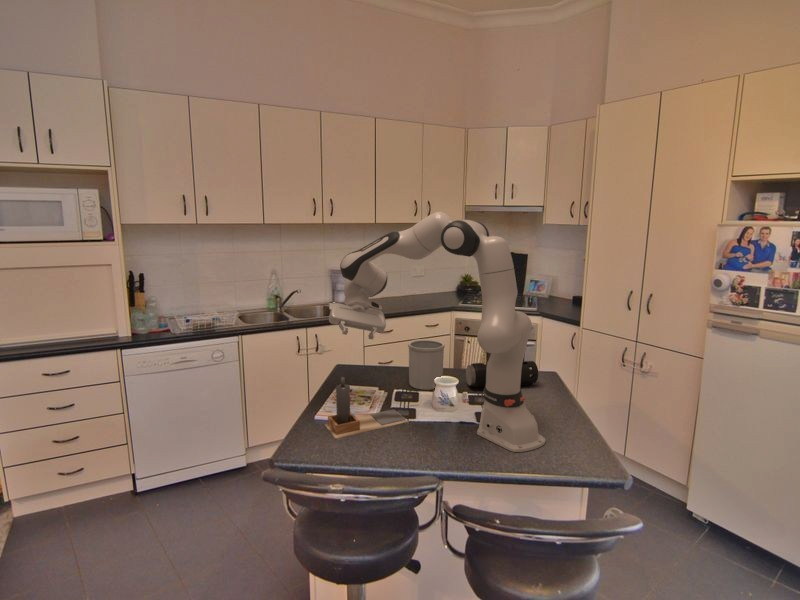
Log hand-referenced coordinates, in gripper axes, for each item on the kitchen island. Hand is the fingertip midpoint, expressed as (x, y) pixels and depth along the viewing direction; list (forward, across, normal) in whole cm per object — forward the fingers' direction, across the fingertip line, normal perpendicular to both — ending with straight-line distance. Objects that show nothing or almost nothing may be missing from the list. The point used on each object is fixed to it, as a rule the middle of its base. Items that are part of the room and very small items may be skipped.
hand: (358, 335), depth 160 cm
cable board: (+24, +8, +17) cm, 31 cm away
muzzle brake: (-1, +67, +16) cm, 69 cm away
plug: (+25, 0, +17) cm, 30 cm away
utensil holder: (-6, +40, +28) cm, 49 cm away
